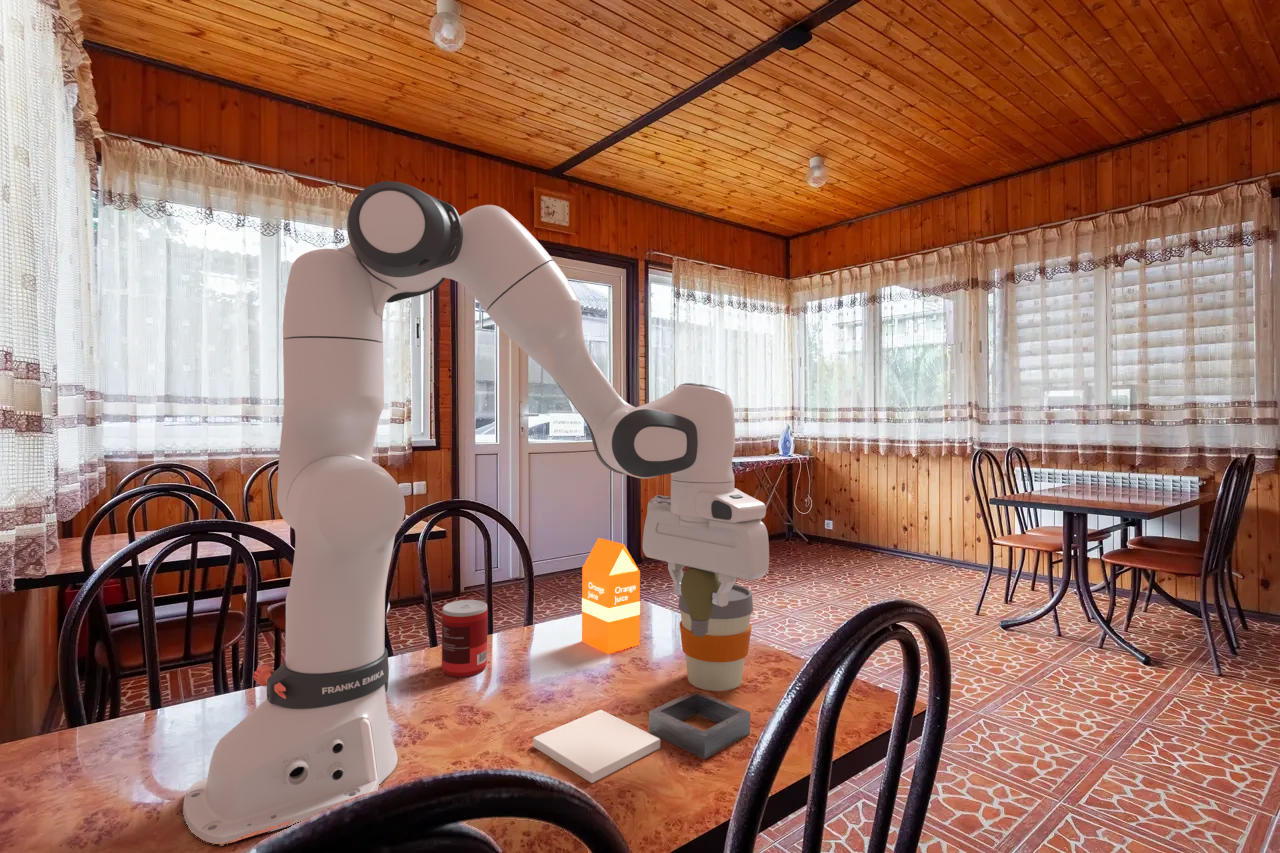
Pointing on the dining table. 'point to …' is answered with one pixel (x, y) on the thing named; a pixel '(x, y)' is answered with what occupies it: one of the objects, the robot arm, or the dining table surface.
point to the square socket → (692, 739)
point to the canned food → (464, 638)
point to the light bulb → (699, 597)
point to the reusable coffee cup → (718, 642)
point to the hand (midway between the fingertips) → (700, 599)
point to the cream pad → (596, 744)
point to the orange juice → (610, 598)
